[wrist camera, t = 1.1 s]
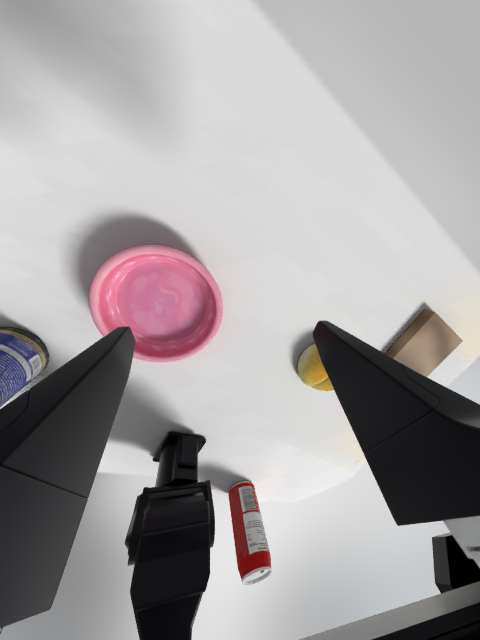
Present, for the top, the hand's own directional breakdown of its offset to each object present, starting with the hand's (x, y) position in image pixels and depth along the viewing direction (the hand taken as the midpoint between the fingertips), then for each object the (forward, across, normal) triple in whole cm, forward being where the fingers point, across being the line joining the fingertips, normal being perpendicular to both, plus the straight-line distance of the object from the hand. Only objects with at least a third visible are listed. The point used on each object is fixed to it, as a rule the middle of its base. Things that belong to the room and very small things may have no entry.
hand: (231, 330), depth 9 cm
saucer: (+12, +6, +6) cm, 15 cm away
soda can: (+1, -5, +47) cm, 47 cm away
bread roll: (+11, -17, +17) cm, 26 cm away
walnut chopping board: (+10, -34, +20) cm, 41 cm away
